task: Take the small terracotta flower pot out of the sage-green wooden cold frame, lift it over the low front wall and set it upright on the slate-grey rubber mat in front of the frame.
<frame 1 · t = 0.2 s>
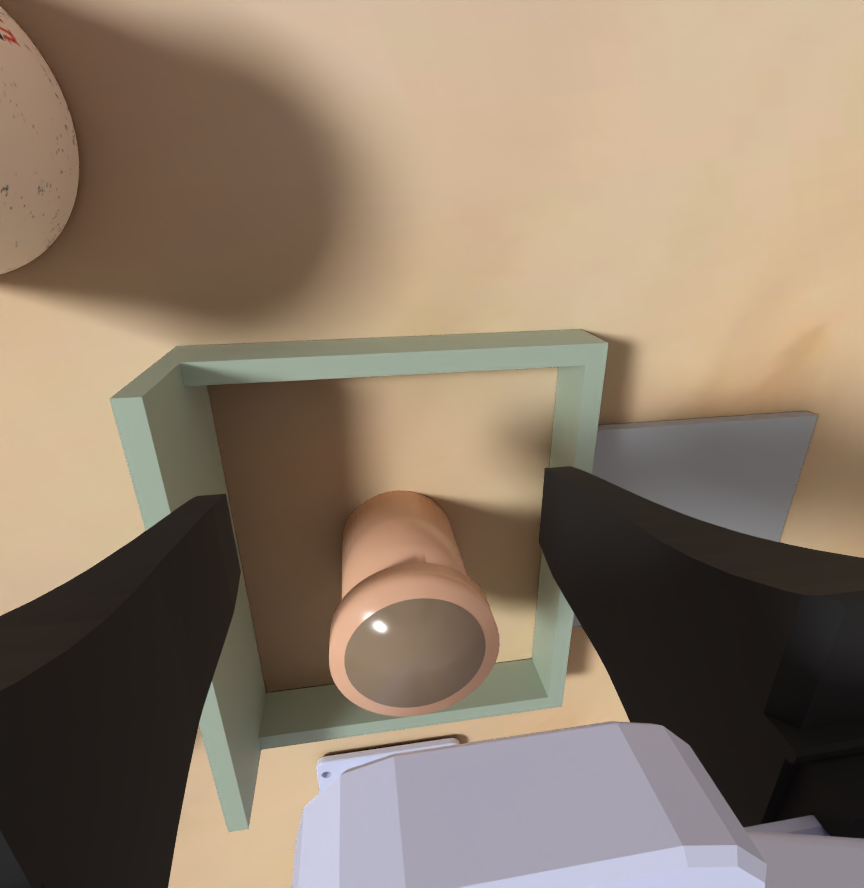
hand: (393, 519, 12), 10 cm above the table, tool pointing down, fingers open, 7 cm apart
slate mat: (678, 521, 26), on the table
terracotta pot: (397, 538, 24), resting in cold frame
cold frame: (397, 539, 24), on the table
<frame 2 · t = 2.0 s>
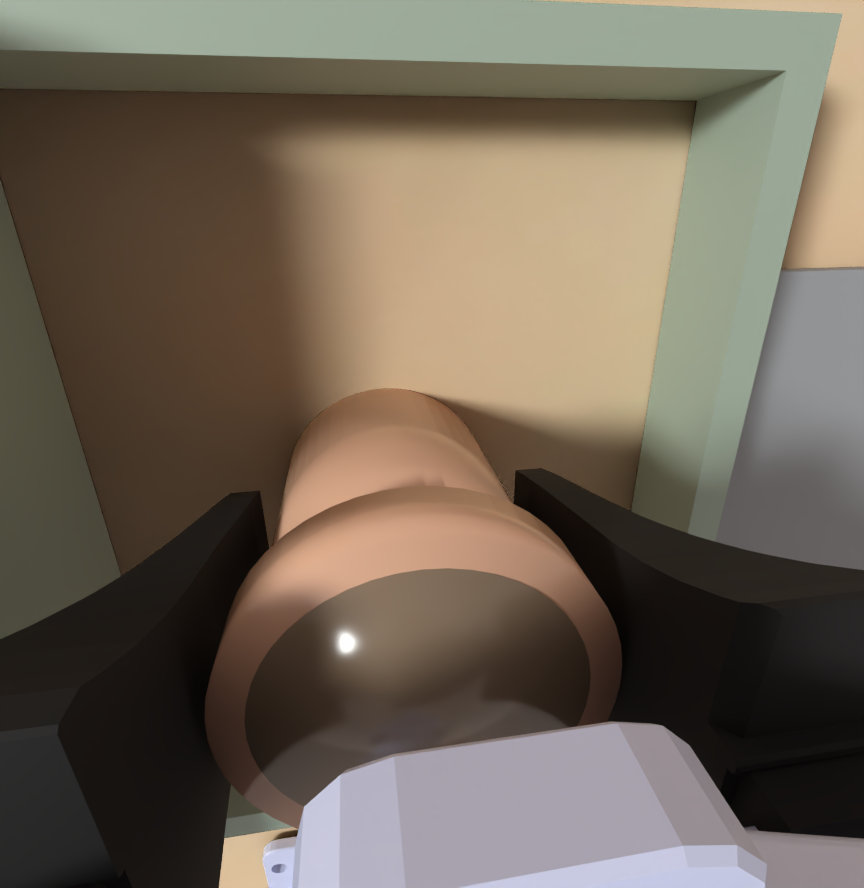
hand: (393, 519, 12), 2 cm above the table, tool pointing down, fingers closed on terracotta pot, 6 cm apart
slate mat: (855, 458, 16), on the table
terracotta pot: (387, 480, 14), resting in cold frame, touching gripper
cold frame: (387, 480, 14), on the table
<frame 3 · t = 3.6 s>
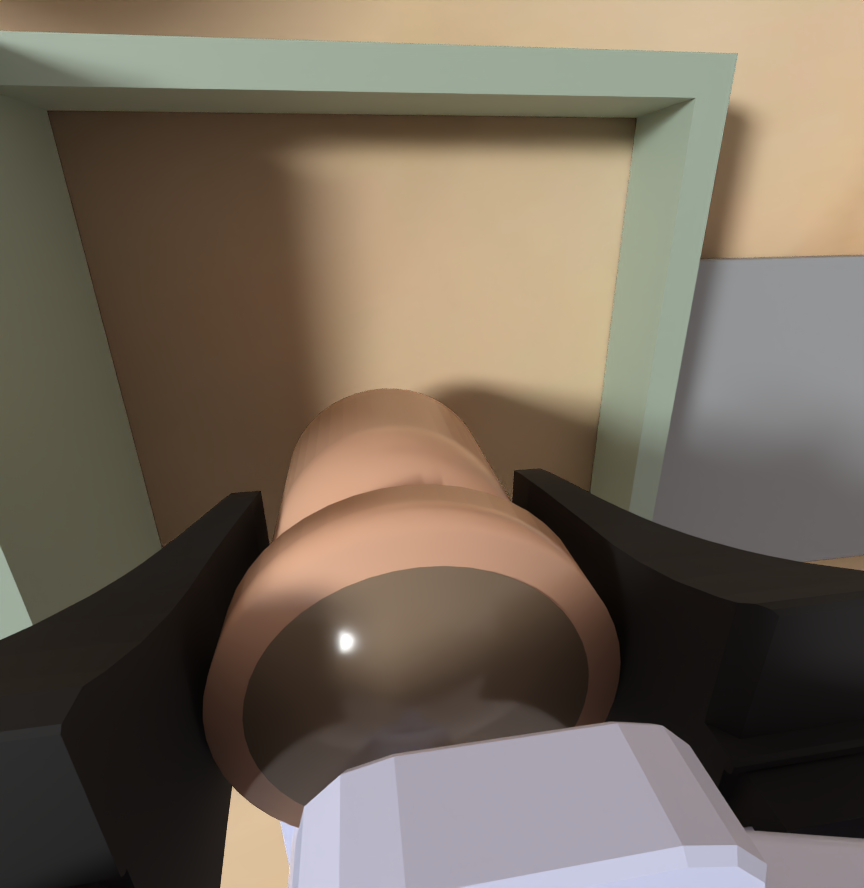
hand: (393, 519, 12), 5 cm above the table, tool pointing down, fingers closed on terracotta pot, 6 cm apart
slate mat: (789, 424, 18), on the table
terracotta pot: (387, 480, 14), point 3 cm above the table, touching gripper
cold frame: (381, 439, 16), on the table
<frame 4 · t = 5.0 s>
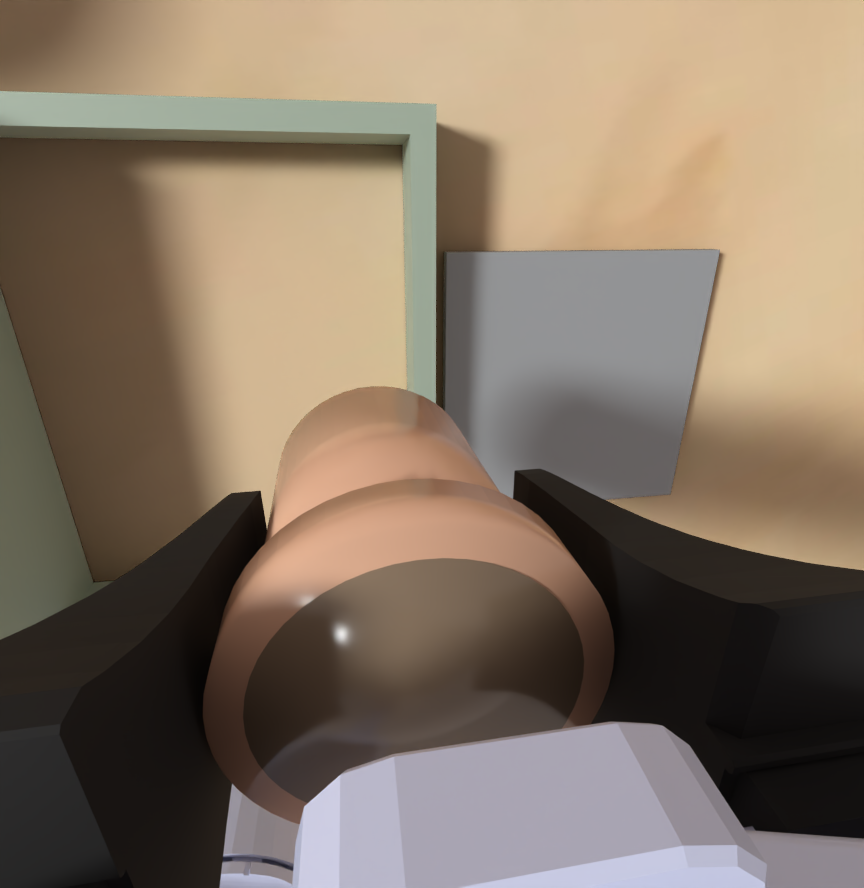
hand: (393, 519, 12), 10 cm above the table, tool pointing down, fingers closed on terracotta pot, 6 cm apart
slate mat: (567, 385, 23), on the table
terracotta pot: (377, 478, 14), point 8 cm above the table, touching gripper
cold frame: (229, 389, 21), on the table
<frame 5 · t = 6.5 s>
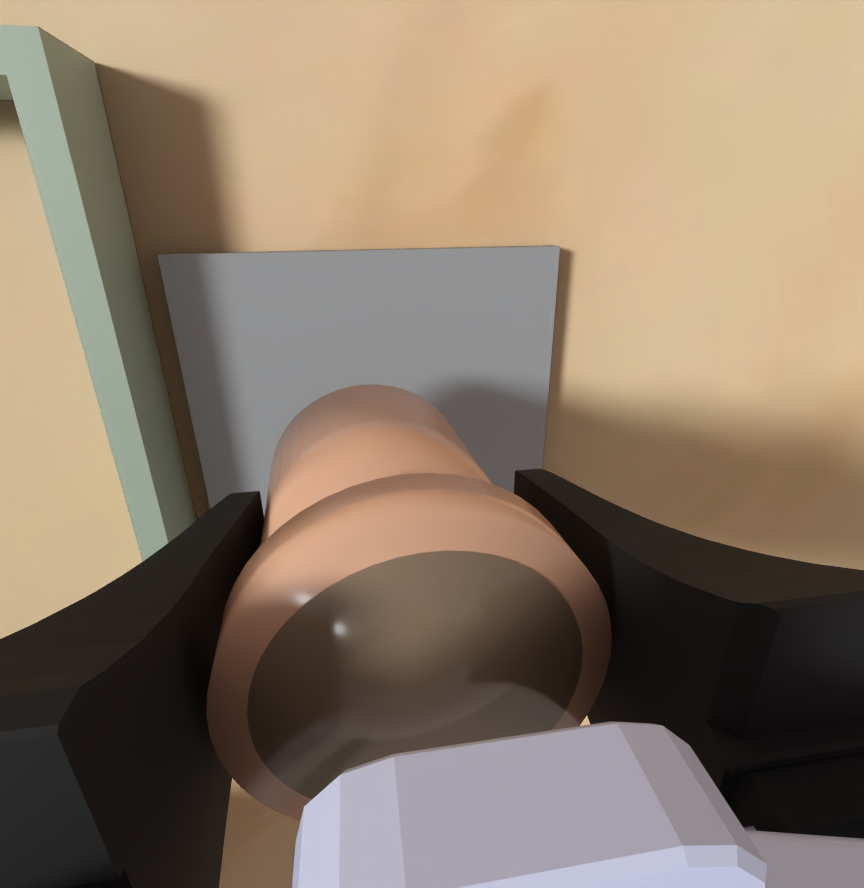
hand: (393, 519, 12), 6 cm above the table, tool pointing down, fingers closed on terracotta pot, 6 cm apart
slate mat: (378, 428, 17), on the table
terracotta pot: (370, 476, 14), point 4 cm above the table, touching gripper
when the fingers open (4 cm above the table, at t = 7.9 s): terracotta pot drops 1 cm, resting on slate mat.
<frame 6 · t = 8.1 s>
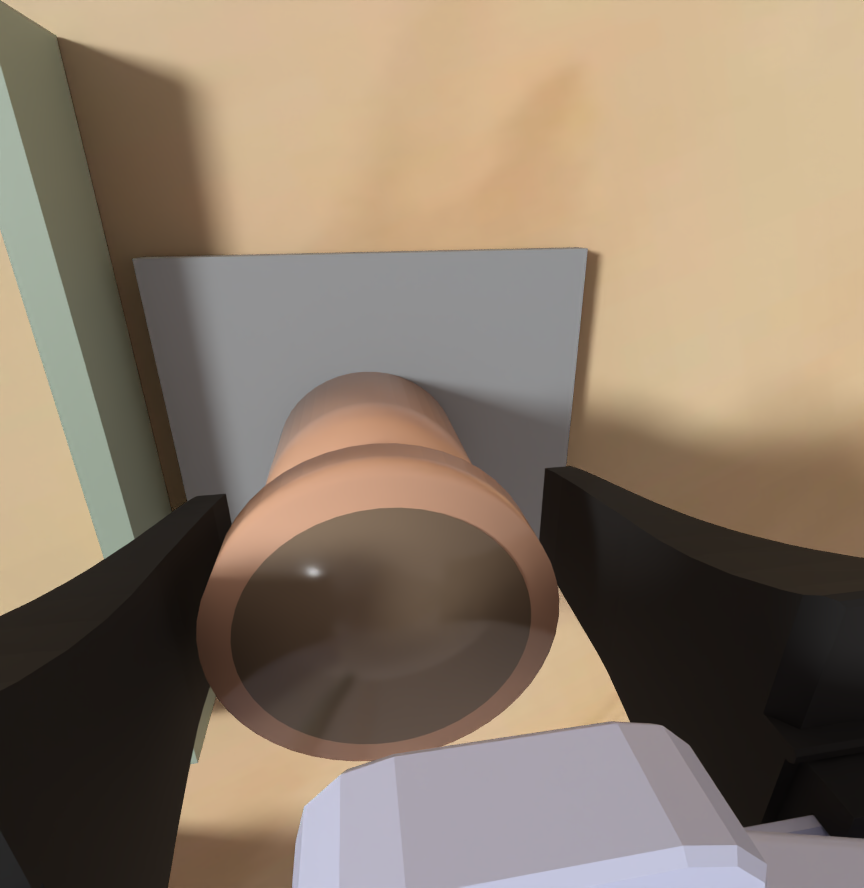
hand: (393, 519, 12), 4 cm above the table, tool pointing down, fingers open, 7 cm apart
slate mat: (382, 450, 15), on the table
terracotta pot: (369, 457, 15), point 1 cm above the table, touching slate mat
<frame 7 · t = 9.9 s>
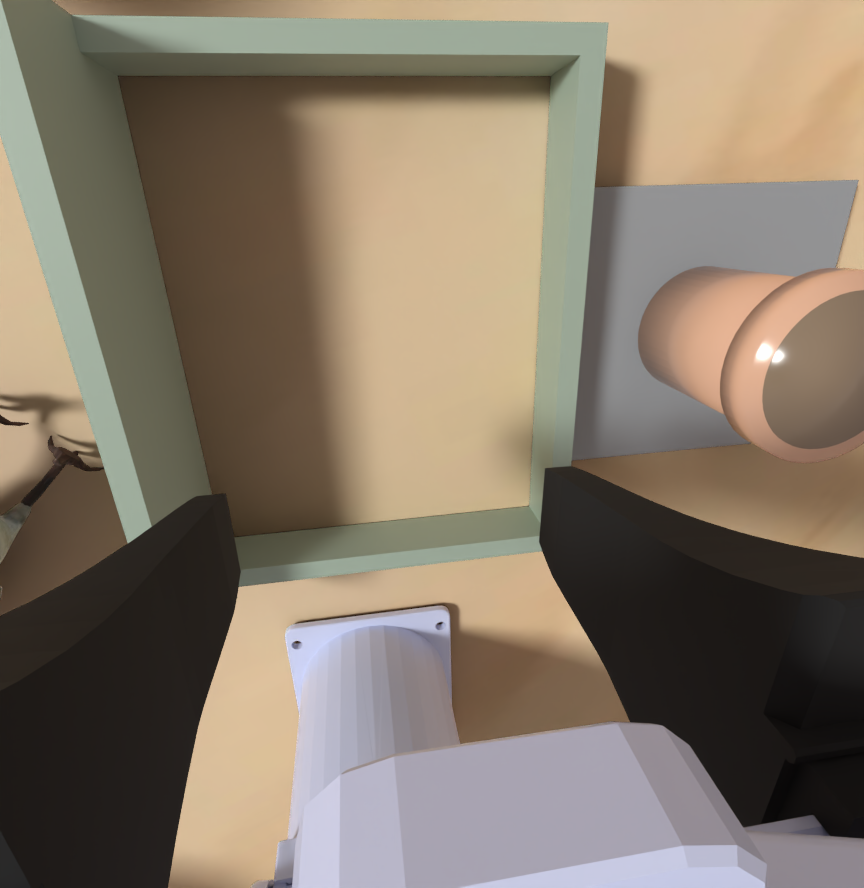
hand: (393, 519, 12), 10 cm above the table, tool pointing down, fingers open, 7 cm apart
slate mat: (694, 327, 22), on the table
terracotta pot: (694, 329, 22), point 1 cm above the table, touching slate mat
cold frame: (366, 335, 20), on the table
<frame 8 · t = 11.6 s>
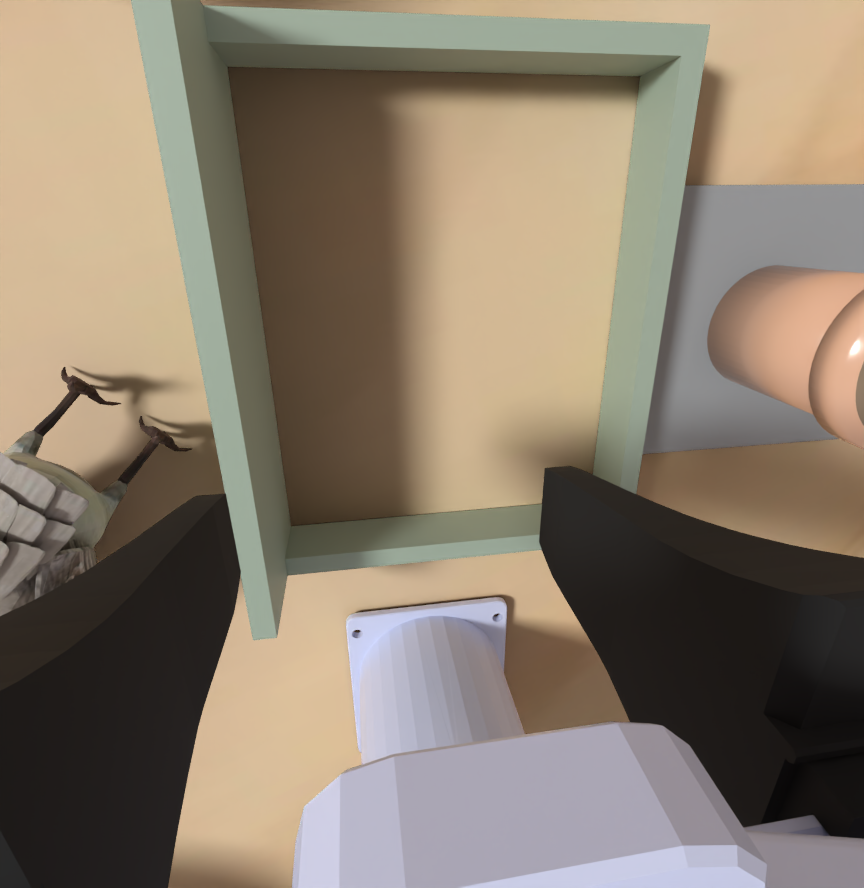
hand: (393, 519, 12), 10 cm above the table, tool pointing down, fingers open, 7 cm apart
decorative bird: (35, 534, 22), on the table
slate mat: (760, 325, 23), on the table
terracotta pot: (762, 327, 22), point 1 cm above the table, touching slate mat
cold frame: (445, 327, 21), on the table
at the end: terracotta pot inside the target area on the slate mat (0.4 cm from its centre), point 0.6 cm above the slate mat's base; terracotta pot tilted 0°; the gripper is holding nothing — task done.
